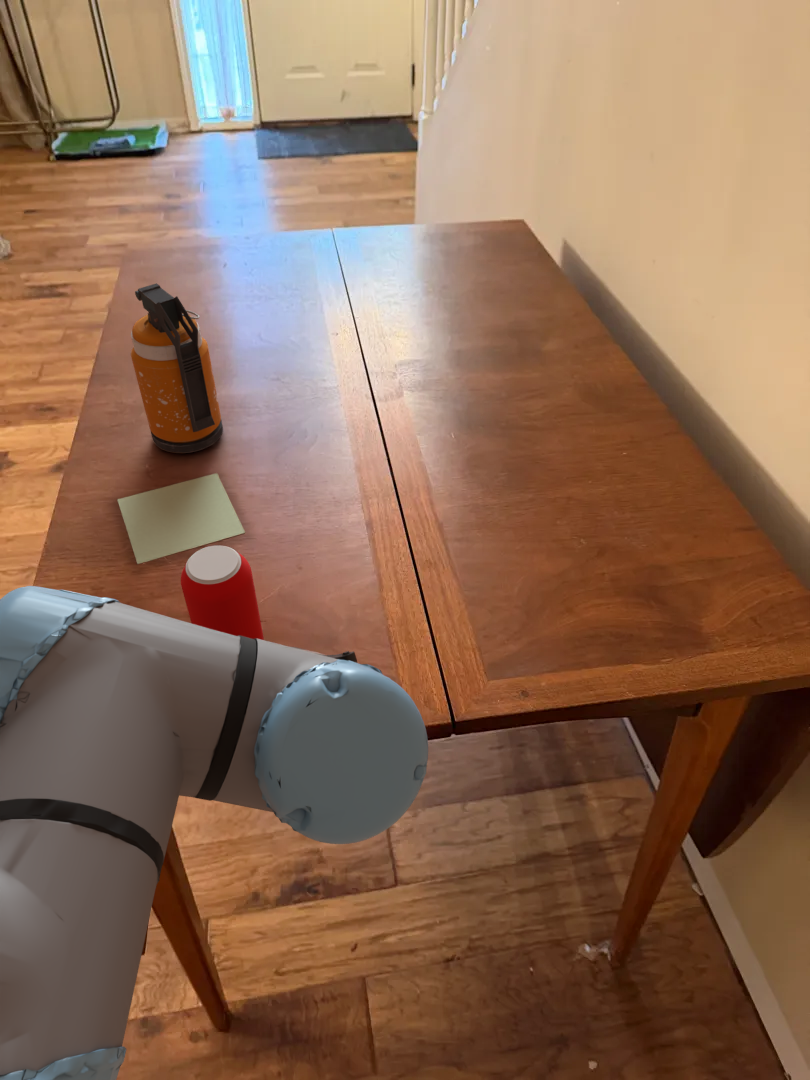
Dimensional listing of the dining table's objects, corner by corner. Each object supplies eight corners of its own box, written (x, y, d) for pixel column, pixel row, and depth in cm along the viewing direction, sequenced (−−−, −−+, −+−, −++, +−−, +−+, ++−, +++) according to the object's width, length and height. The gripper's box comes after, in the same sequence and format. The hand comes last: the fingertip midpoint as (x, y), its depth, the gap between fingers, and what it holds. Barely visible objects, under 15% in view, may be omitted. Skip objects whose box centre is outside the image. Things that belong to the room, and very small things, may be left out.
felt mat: (137, 564, 84) (137, 564, 84) (117, 499, 92) (117, 499, 92) (245, 533, 88) (245, 532, 88) (216, 473, 96) (216, 473, 95)
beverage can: (195, 677, 73) (169, 588, 65) (207, 626, 77) (184, 537, 69) (260, 676, 73) (243, 588, 65) (268, 626, 77) (253, 537, 69)
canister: (202, 409, 106) (174, 267, 92) (245, 447, 99) (221, 300, 86) (141, 433, 101) (102, 287, 88) (181, 474, 95) (146, 324, 82)
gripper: (204, 814, 45) (188, 745, 67) (409, 732, 49) (329, 692, 71) (165, 689, 44) (162, 662, 67) (374, 618, 49) (305, 614, 71)
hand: (248, 678), depth 69 cm, fingers closed
